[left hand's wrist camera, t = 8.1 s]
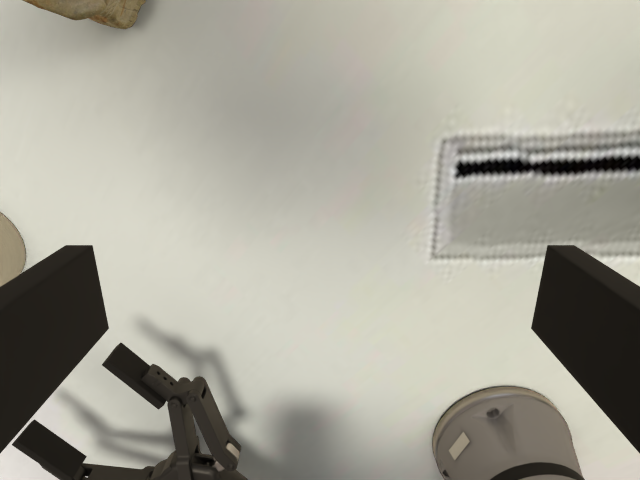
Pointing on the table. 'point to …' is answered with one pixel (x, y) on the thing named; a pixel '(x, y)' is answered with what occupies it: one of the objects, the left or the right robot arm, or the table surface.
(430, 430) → the table surface
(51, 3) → the sculpture
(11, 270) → the jar
